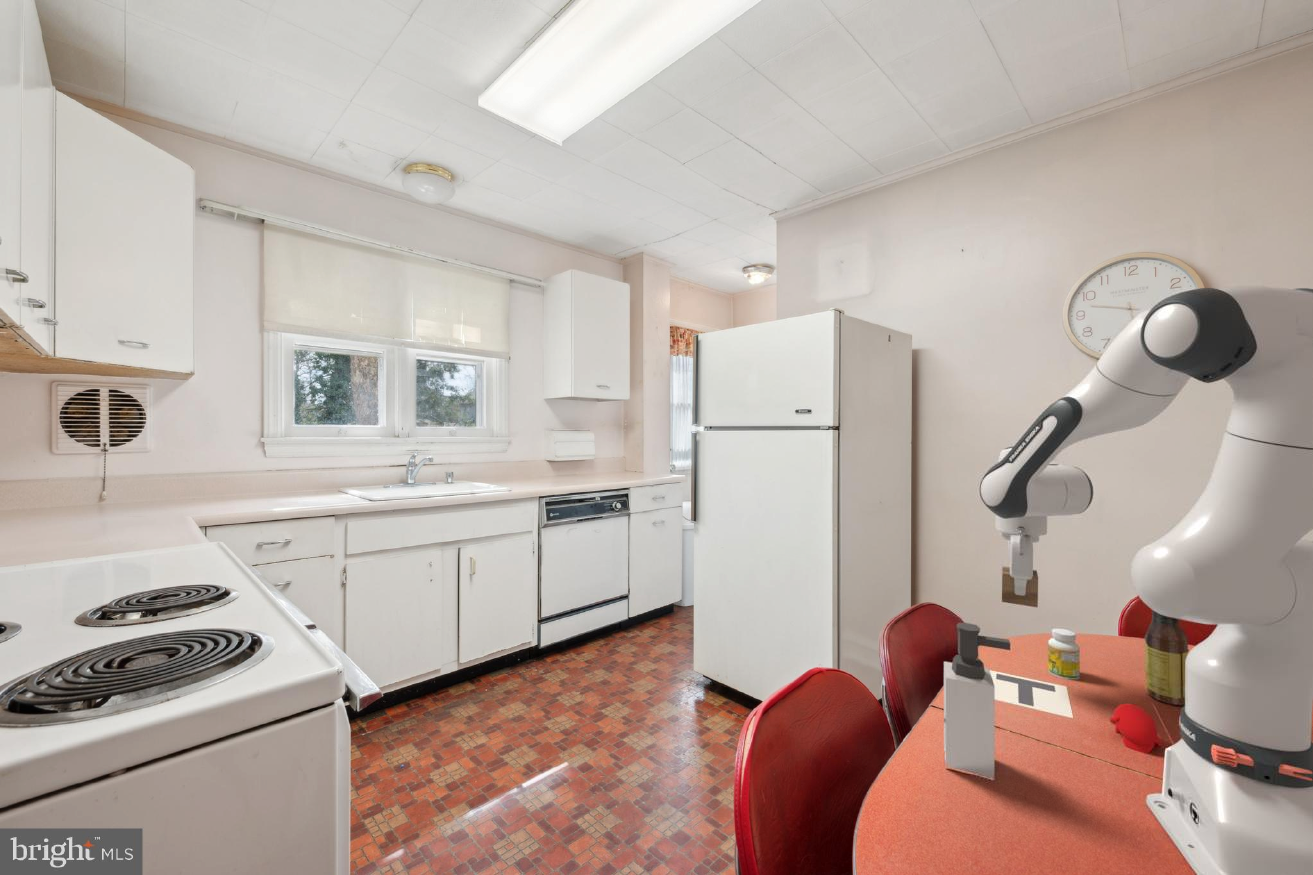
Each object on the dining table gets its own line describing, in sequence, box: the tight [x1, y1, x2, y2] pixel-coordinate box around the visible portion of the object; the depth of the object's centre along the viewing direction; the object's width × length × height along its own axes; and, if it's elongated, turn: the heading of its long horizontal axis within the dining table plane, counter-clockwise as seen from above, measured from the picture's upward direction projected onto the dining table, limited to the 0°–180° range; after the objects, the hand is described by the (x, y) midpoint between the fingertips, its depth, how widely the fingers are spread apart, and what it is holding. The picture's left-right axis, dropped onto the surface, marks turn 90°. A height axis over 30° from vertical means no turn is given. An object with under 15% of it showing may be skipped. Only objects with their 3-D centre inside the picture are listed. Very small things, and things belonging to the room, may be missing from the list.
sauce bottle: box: [1144, 609, 1190, 706], centre depth 103 cm, size 6×6×20 cm
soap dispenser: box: [943, 622, 1011, 780], centre depth 83 cm, size 6×9×22 cm
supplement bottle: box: [1047, 628, 1081, 680], centre depth 113 cm, size 5×5×10 cm
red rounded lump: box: [1109, 703, 1164, 754], centre depth 89 cm, size 8×6×6 cm
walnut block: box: [1001, 565, 1039, 608], centre depth 109 cm, size 6×6×6 cm
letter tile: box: [989, 669, 1074, 719], centre depth 105 cm, size 14×14×1 cm
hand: (1019, 589), depth 109 cm, fingers closed on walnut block, 6 cm apart
